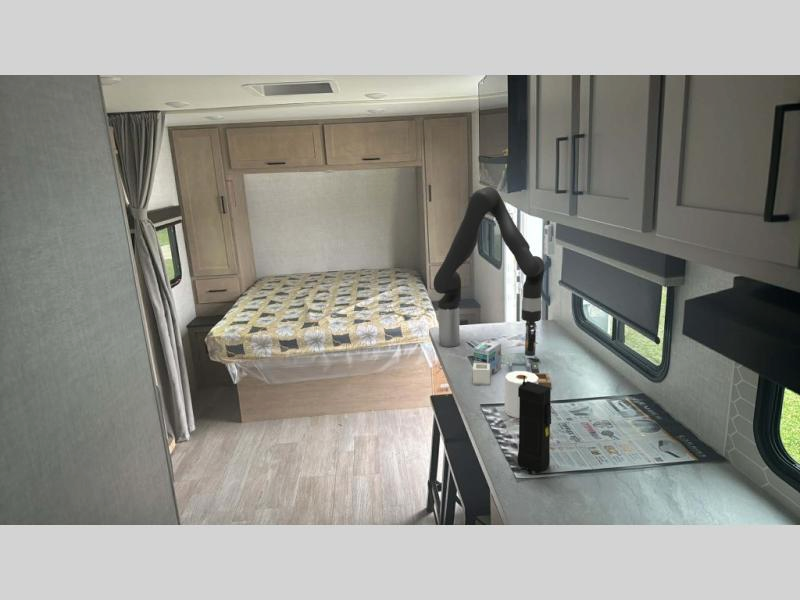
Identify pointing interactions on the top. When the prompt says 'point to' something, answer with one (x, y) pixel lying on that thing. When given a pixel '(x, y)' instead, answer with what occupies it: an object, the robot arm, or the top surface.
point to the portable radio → (534, 426)
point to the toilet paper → (515, 390)
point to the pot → (481, 374)
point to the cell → (528, 353)
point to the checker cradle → (522, 366)
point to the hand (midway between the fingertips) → (530, 348)
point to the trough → (543, 379)
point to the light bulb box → (489, 355)
